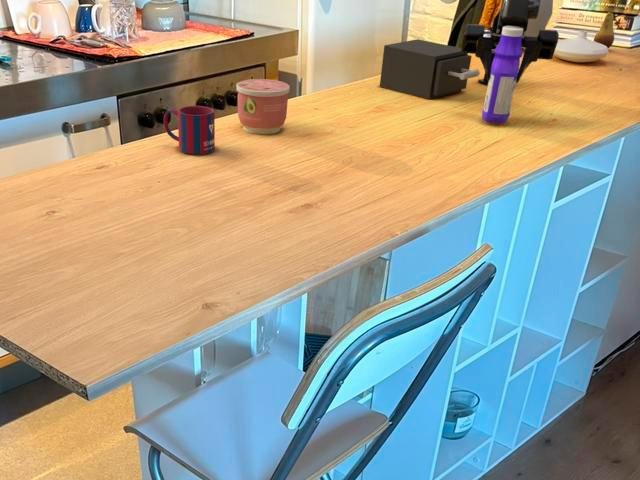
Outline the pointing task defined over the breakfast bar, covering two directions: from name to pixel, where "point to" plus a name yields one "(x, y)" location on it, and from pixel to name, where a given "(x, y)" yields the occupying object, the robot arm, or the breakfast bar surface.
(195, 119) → the mug
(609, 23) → the fruit
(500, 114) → the bottle
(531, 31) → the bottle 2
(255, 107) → the container
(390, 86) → the dark drawer cabinet casing
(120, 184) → the breakfast bar surface
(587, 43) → the vase
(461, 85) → the pull-out drawer box
